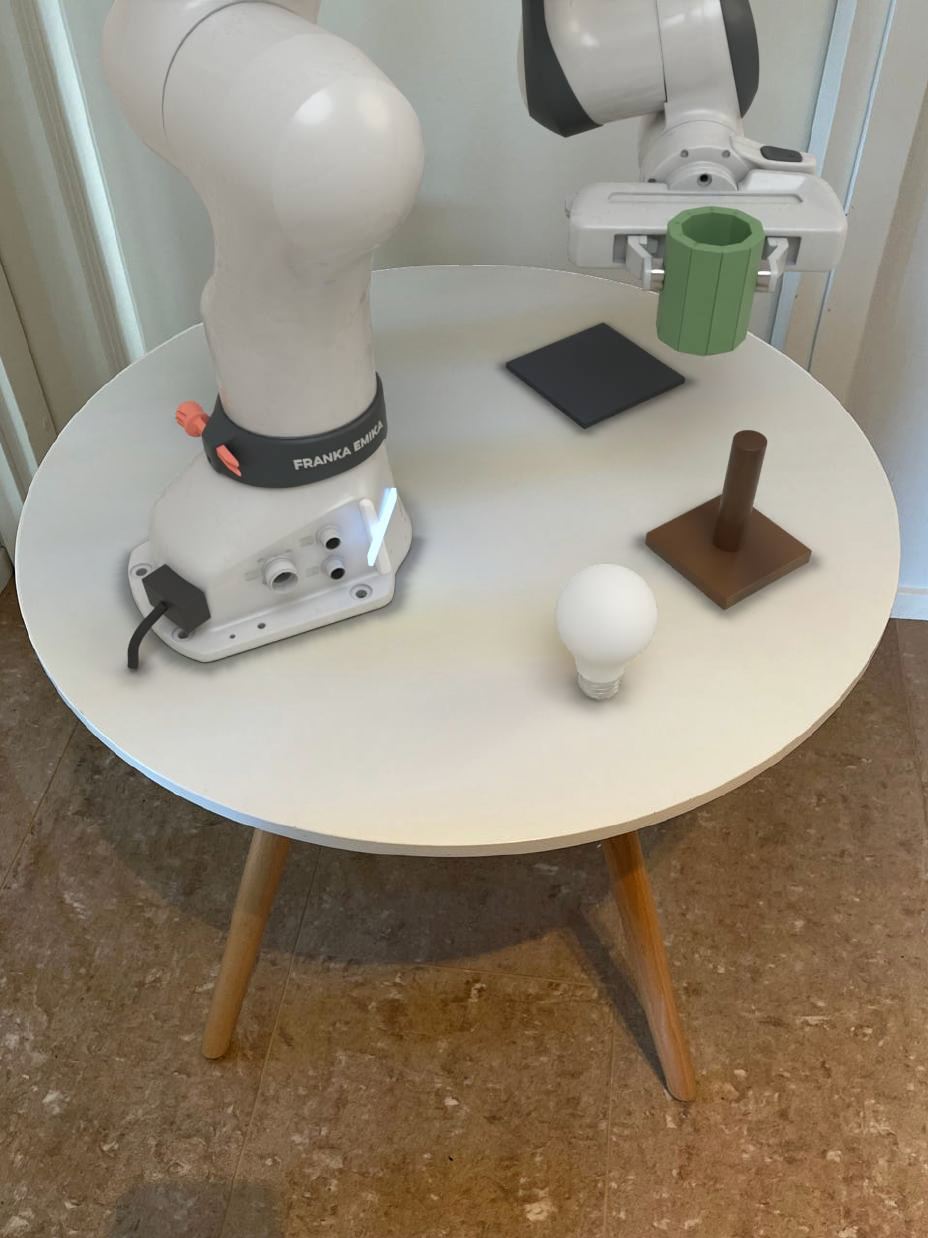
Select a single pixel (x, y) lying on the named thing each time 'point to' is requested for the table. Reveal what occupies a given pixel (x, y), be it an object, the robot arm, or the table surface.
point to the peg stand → (730, 534)
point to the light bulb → (605, 624)
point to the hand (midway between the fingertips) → (710, 282)
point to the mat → (594, 374)
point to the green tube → (709, 279)
